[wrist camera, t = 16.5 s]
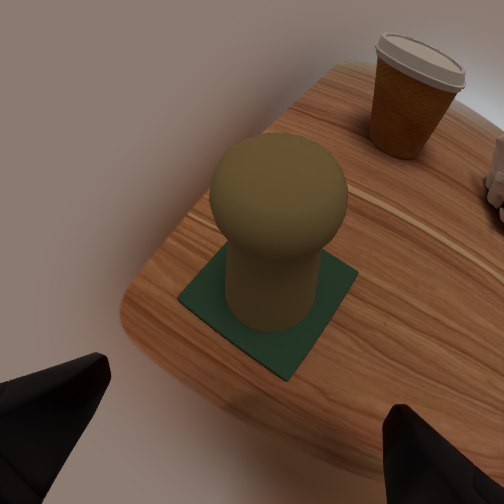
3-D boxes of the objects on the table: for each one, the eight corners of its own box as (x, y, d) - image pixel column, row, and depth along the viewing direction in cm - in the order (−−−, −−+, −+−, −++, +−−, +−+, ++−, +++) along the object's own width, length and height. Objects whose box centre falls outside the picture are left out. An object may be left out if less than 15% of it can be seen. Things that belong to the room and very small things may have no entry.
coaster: (286, 381, 16) (287, 381, 16) (178, 300, 19) (176, 297, 18) (356, 275, 20) (359, 271, 19) (256, 214, 22) (256, 209, 22)
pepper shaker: (231, 340, 17) (195, 254, 7) (219, 255, 20) (188, 123, 10) (325, 321, 17) (399, 221, 8) (302, 241, 20) (331, 109, 11)
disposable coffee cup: (437, 146, 27) (472, 68, 17) (417, 184, 24) (465, 85, 14) (374, 108, 31) (394, 28, 20) (339, 136, 27) (360, 34, 17)
